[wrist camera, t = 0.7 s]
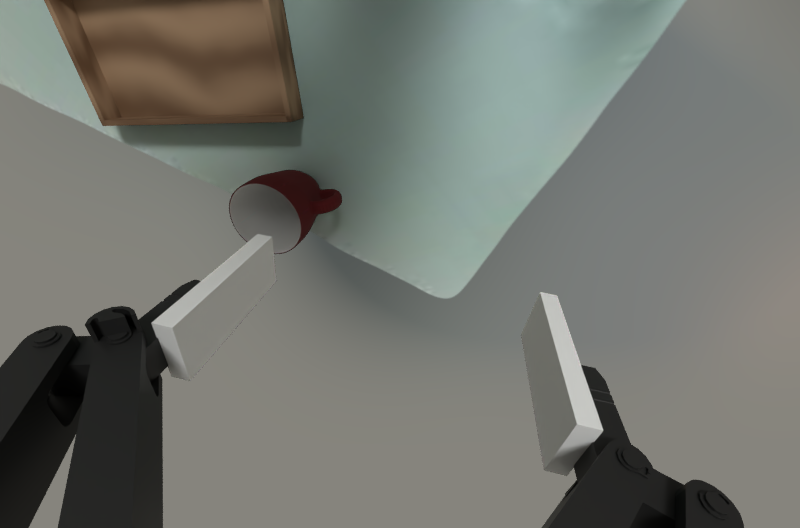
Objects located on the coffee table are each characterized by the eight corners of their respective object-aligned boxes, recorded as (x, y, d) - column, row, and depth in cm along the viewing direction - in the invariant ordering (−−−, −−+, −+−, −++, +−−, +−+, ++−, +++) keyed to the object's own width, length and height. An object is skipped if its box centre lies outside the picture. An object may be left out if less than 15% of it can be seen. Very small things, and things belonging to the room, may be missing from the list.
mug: (340, 145, 39) (305, 169, 31) (361, 209, 43) (334, 245, 35) (265, 164, 42) (214, 190, 34) (291, 222, 46) (250, 259, 38)
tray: (65, -15, 36) (34, -21, 33) (276, -39, 32) (259, -47, 29) (124, 121, 43) (102, 125, 40) (303, 117, 39) (292, 121, 36)
